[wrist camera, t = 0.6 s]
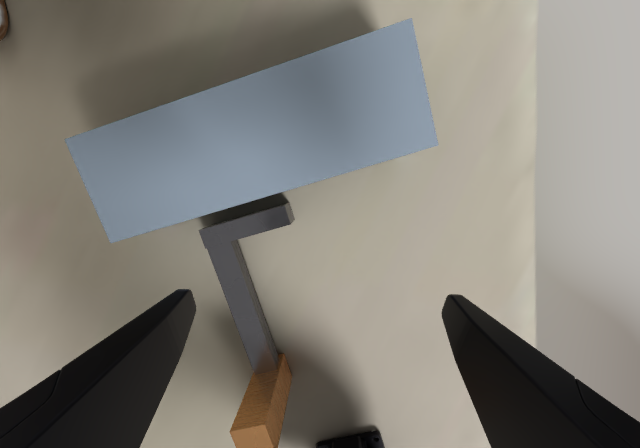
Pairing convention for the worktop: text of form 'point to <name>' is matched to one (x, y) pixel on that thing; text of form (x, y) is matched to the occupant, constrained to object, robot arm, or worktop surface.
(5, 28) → the tin
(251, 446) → the hook tool
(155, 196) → the bench
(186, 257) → the worktop surface
